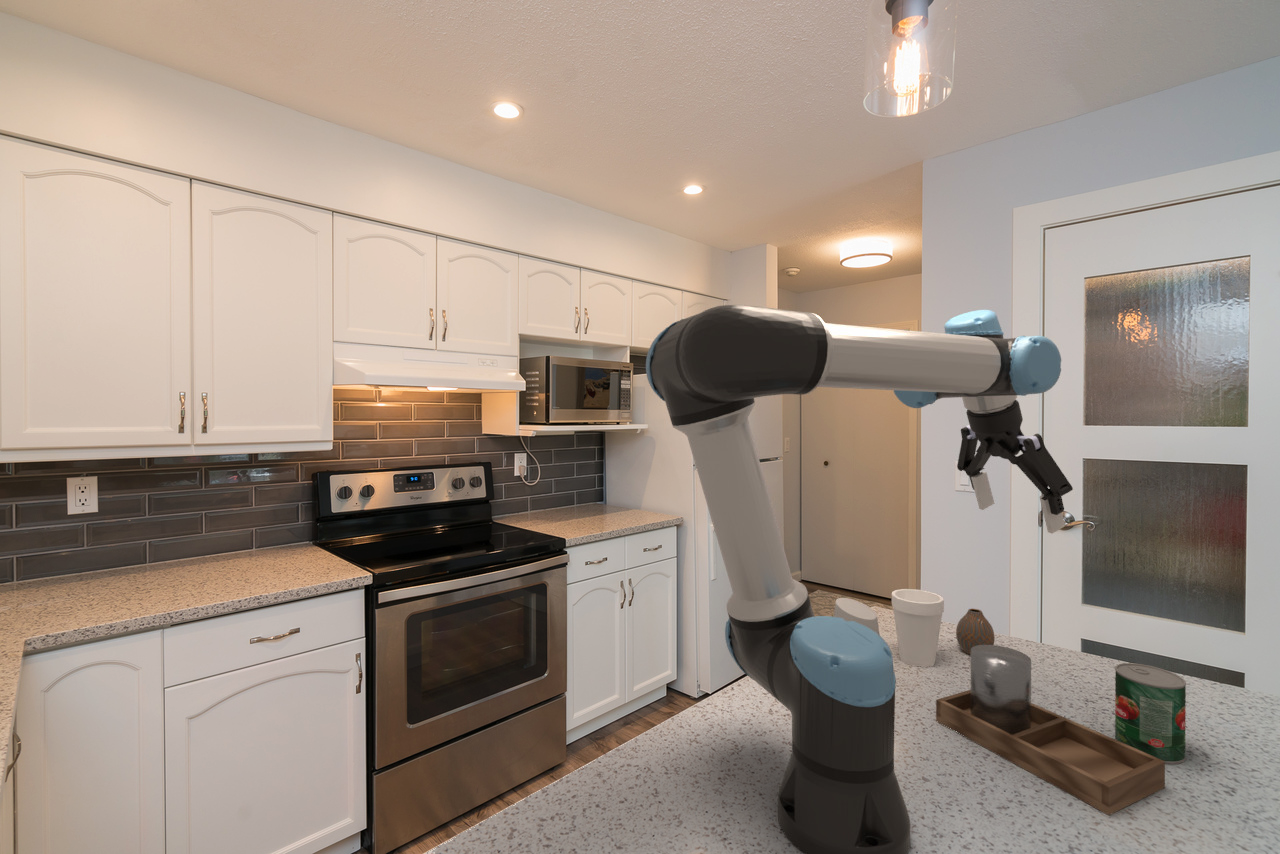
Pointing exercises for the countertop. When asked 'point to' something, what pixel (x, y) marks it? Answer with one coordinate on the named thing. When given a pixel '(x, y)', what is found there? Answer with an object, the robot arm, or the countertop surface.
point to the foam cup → (917, 625)
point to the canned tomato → (1151, 711)
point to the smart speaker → (856, 613)
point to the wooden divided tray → (1063, 754)
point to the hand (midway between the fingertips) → (1019, 517)
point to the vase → (974, 630)
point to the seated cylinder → (1001, 687)
